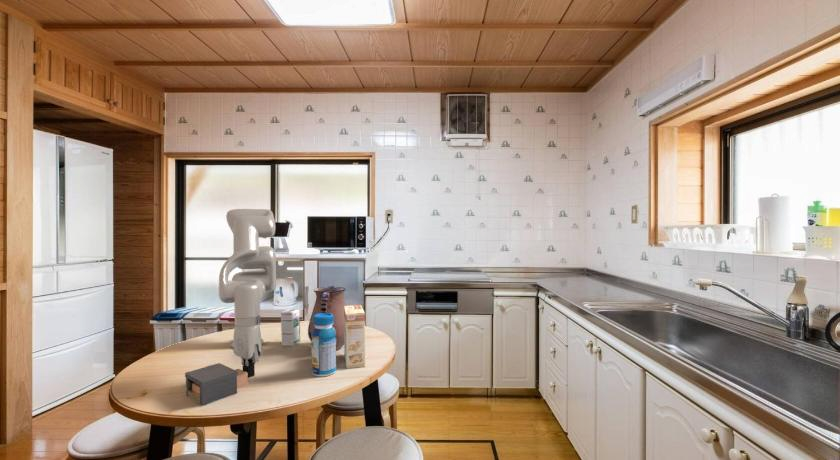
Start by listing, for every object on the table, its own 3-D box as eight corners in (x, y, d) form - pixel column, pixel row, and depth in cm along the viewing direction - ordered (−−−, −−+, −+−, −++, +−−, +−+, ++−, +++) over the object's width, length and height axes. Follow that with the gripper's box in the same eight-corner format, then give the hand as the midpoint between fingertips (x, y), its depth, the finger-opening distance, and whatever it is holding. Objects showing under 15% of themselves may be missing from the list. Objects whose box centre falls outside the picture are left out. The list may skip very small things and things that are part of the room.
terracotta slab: (192, 396, 112) (192, 383, 112) (238, 380, 123) (238, 368, 123) (200, 401, 108) (200, 388, 108) (247, 385, 119) (247, 372, 119)
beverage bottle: (330, 378, 124) (329, 318, 124) (307, 376, 125) (306, 317, 125) (340, 368, 132) (339, 312, 132) (318, 367, 134) (317, 311, 134)
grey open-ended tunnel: (185, 395, 112) (185, 372, 112) (219, 383, 120) (219, 362, 120) (202, 406, 105) (202, 382, 105) (238, 393, 113) (237, 371, 113)
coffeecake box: (365, 366, 133) (365, 312, 133) (345, 369, 132) (345, 314, 132) (362, 353, 148) (361, 304, 148) (344, 355, 146) (343, 305, 146)
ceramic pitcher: (350, 340, 165) (350, 284, 165) (352, 356, 145) (351, 292, 145) (309, 343, 162) (309, 285, 161) (305, 360, 141) (304, 294, 141)
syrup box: (293, 346, 158) (293, 312, 158) (281, 345, 159) (280, 311, 159) (300, 342, 164) (300, 309, 163) (288, 341, 165) (287, 308, 165)
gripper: (225, 320, 123) (225, 375, 123) (248, 327, 114) (249, 386, 114) (247, 315, 129) (247, 368, 129) (271, 322, 120) (272, 378, 120)
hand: (248, 376), depth 122 cm, fingers closed
